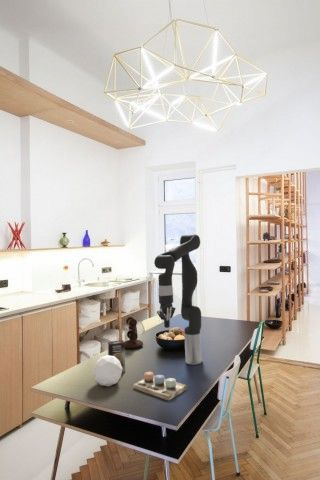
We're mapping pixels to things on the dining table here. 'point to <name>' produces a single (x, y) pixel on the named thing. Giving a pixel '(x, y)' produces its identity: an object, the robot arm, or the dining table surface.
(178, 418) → the dining table surface
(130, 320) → the dark brown tall piece
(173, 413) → the dining table surface
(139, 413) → the dining table surface
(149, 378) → the two dot button
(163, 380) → the three dot button
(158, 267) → the robot arm
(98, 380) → the geometric shape
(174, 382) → the pale green button
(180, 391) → the button board
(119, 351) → the coffee box
